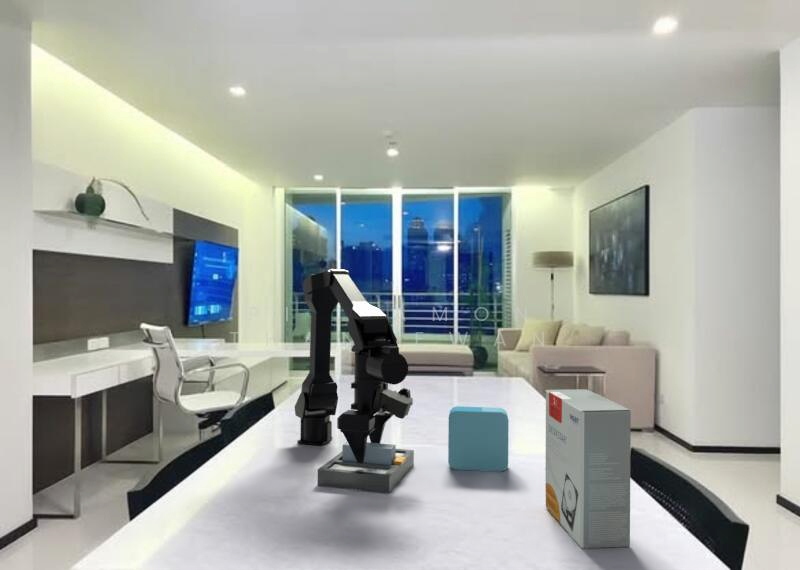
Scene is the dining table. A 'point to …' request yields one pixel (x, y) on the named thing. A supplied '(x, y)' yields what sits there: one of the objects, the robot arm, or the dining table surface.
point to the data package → (478, 439)
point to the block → (372, 453)
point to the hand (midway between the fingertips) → (368, 456)
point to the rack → (365, 473)
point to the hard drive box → (588, 467)
